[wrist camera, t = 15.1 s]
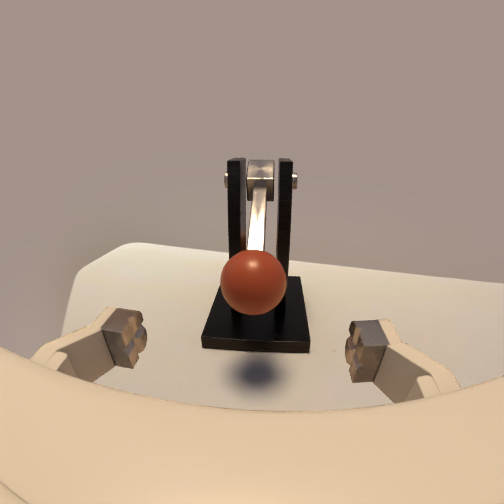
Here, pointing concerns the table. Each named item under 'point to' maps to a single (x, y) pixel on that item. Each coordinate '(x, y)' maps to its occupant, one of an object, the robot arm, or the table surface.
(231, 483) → the robot arm
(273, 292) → the faucet lever
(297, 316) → the bracket
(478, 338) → the table surface
